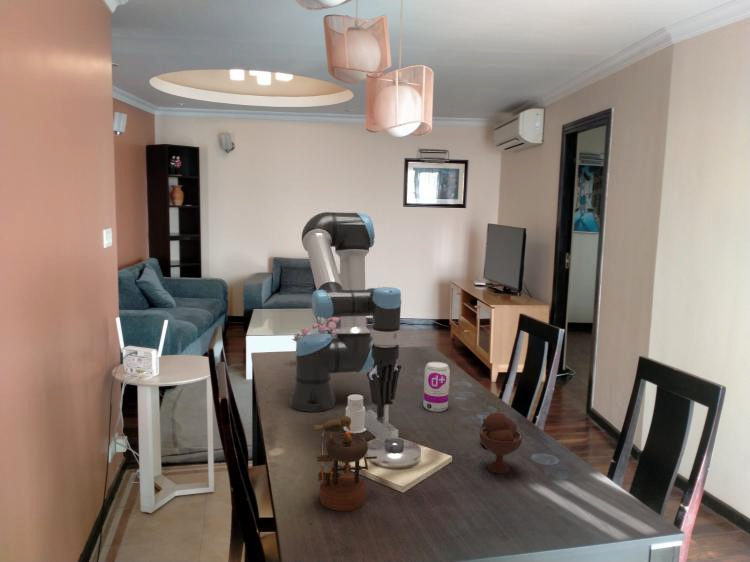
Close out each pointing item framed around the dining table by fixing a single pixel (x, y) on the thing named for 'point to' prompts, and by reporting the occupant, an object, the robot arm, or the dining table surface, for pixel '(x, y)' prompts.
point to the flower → (321, 327)
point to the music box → (347, 448)
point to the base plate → (406, 476)
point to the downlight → (355, 414)
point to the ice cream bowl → (500, 439)
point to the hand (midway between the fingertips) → (382, 426)
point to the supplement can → (436, 386)
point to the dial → (389, 444)
